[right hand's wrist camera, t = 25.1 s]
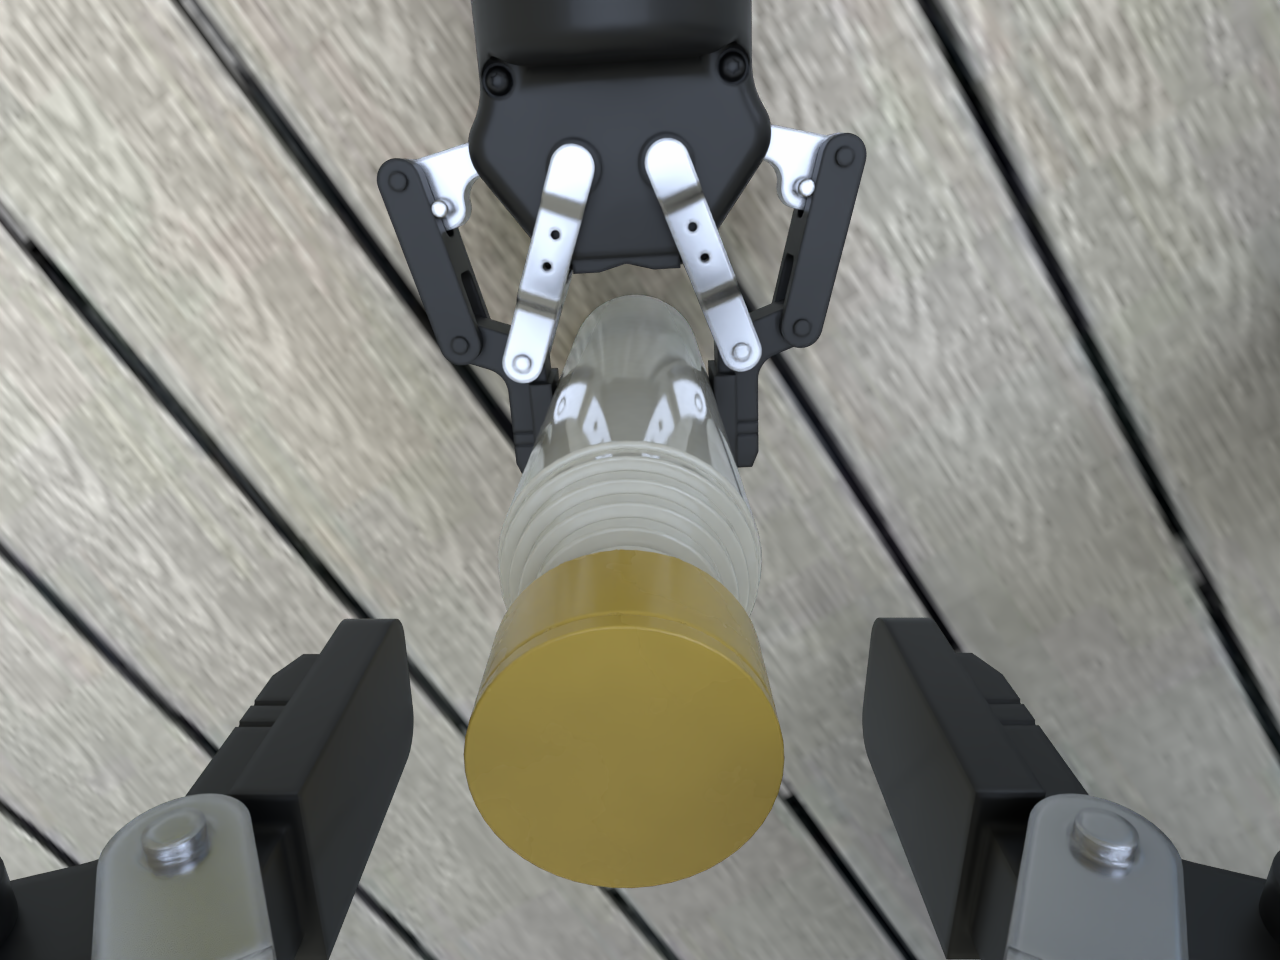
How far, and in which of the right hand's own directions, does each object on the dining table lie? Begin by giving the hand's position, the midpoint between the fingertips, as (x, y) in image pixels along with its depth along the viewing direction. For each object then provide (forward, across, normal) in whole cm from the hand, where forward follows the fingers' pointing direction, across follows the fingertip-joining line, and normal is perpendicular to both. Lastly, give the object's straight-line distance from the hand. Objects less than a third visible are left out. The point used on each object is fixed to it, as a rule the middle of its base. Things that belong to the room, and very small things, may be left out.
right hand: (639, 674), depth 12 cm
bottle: (+22, 0, 0) cm, 22 cm away
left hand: (+16, 0, -3) cm, 16 cm away
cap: (-1, 0, 0) cm, 1 cm away
